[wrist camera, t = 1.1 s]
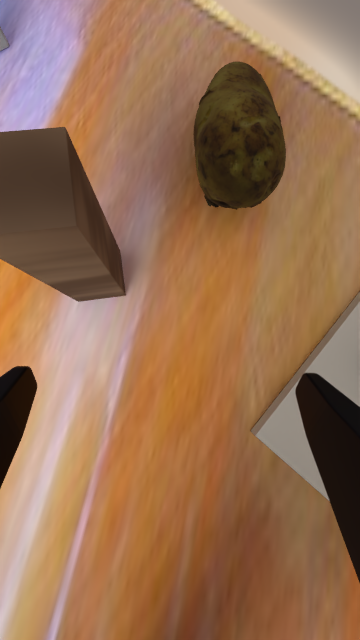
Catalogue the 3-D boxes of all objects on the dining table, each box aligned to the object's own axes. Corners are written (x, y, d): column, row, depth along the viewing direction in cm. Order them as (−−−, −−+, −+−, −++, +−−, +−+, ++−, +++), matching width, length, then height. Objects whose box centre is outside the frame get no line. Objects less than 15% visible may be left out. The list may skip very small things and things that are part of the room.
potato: (295, 130, 25) (354, 31, 17) (242, 246, 24) (282, 195, 16) (217, 93, 25) (241, -24, 17) (159, 206, 24) (156, 135, 16)
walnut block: (125, 295, 23) (76, 226, 10) (78, 301, 22) (-38, 238, 9) (119, 250, 23) (65, 127, 10) (73, 256, 23) (-45, 135, 10)
